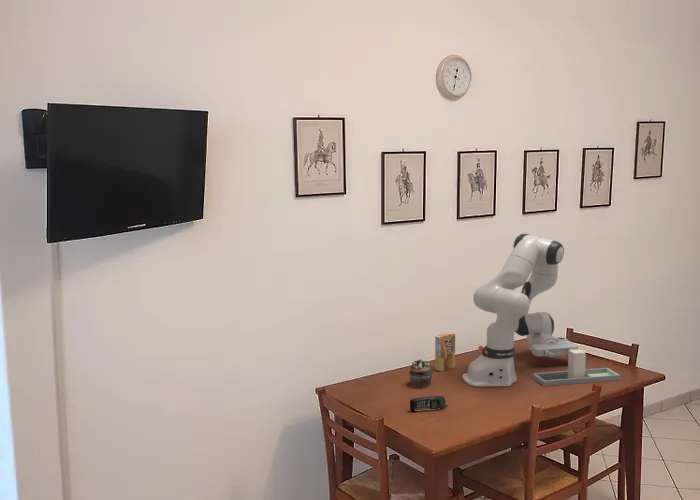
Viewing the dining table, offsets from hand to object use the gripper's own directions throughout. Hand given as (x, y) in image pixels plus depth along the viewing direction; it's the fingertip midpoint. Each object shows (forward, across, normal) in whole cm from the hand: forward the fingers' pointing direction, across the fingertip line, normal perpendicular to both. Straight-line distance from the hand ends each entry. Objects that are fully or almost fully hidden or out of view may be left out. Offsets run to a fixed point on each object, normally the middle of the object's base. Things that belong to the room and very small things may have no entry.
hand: (563, 354), depth 288 cm
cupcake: (+3, -65, +7) cm, 65 cm away
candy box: (-14, -49, +7) cm, 51 cm away
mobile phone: (+30, -69, +8) cm, 76 cm away
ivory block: (+11, 0, +7) cm, 13 cm away
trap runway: (+11, 0, +7) cm, 13 cm away
